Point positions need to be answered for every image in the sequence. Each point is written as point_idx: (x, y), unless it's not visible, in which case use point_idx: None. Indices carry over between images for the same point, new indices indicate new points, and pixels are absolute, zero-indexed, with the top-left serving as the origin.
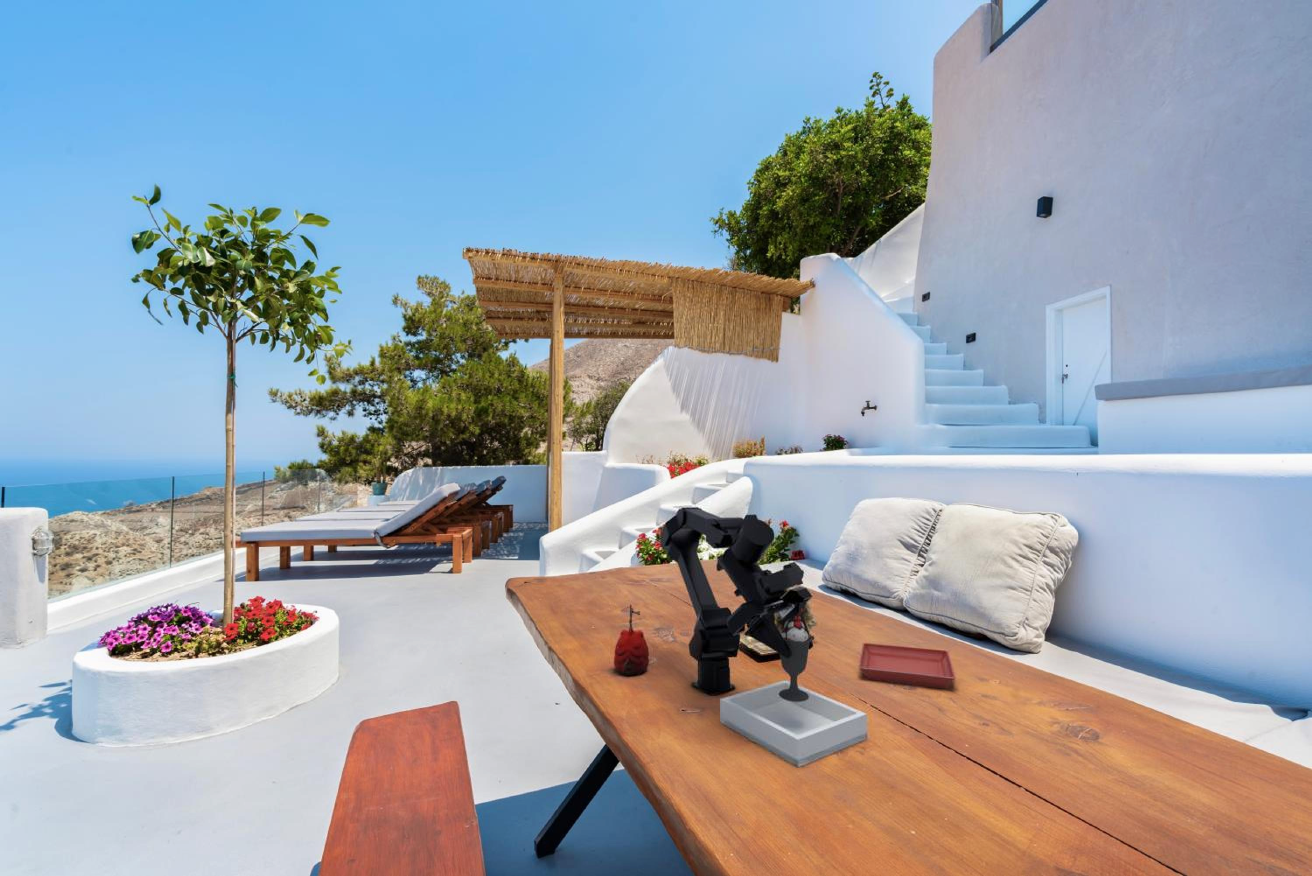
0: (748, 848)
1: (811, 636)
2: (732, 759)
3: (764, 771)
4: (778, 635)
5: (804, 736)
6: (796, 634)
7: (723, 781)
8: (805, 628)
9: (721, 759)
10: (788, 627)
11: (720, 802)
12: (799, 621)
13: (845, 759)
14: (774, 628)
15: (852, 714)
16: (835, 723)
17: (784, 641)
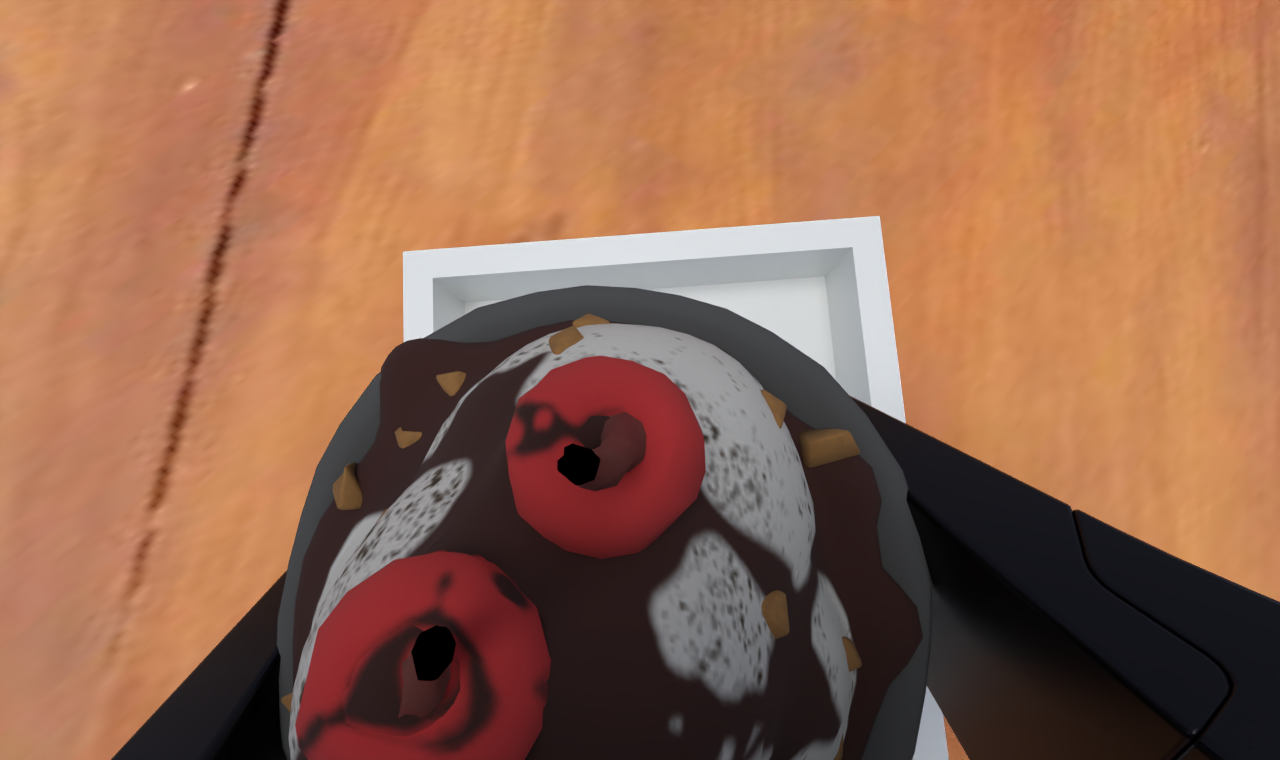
0: (1260, 8)
1: (419, 375)
2: (1030, 427)
3: (969, 298)
4: (1071, 538)
5: (833, 223)
6: (742, 381)
7: (1147, 317)
8: (193, 723)
9: (1071, 449)
10: (782, 621)
11: (1224, 219)
12: (572, 432)
13: (644, 219)
14: (1258, 663)
15: (438, 313)
16: (610, 251)
17: (907, 477)
